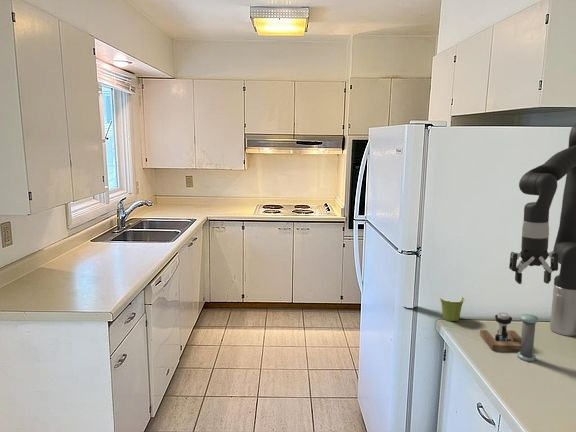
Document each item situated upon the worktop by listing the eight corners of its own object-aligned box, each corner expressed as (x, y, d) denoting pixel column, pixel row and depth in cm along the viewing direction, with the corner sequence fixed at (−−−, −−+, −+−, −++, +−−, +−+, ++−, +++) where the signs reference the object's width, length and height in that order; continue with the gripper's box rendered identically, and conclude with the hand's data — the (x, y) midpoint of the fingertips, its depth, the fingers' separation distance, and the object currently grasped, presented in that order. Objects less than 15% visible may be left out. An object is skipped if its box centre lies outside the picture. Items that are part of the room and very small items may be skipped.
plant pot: (434, 318, 173) (435, 298, 172) (444, 312, 180) (445, 292, 178) (457, 325, 167) (458, 303, 165) (467, 318, 173) (468, 297, 172)
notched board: (513, 335, 157) (514, 330, 157) (529, 351, 145) (529, 345, 145) (479, 335, 158) (479, 329, 158) (492, 350, 146) (492, 345, 146)
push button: (500, 335, 157) (502, 309, 155) (515, 341, 153) (517, 314, 151) (490, 340, 153) (492, 314, 152) (505, 346, 149) (507, 318, 147)
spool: (530, 354, 143) (533, 314, 141) (537, 361, 138) (541, 320, 136) (514, 354, 144) (517, 313, 141) (521, 361, 139) (524, 320, 136)
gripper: (552, 232, 143) (549, 279, 146) (507, 233, 145) (505, 279, 148) (564, 237, 136) (561, 286, 139) (517, 237, 138) (514, 286, 140)
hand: (532, 283), depth 143 cm, fingers open, 8 cm apart
